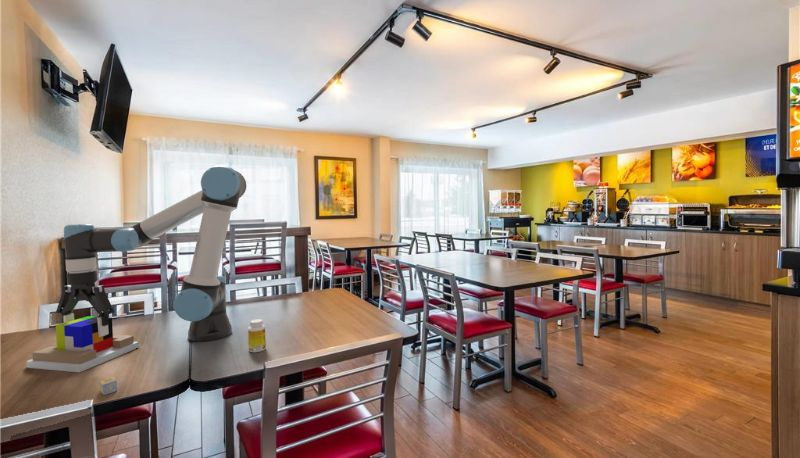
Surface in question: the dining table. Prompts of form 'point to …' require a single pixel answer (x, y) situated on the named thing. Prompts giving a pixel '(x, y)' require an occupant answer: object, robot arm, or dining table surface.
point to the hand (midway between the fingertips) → (86, 334)
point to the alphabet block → (108, 386)
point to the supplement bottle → (256, 336)
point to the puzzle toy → (83, 335)
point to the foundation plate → (85, 365)
